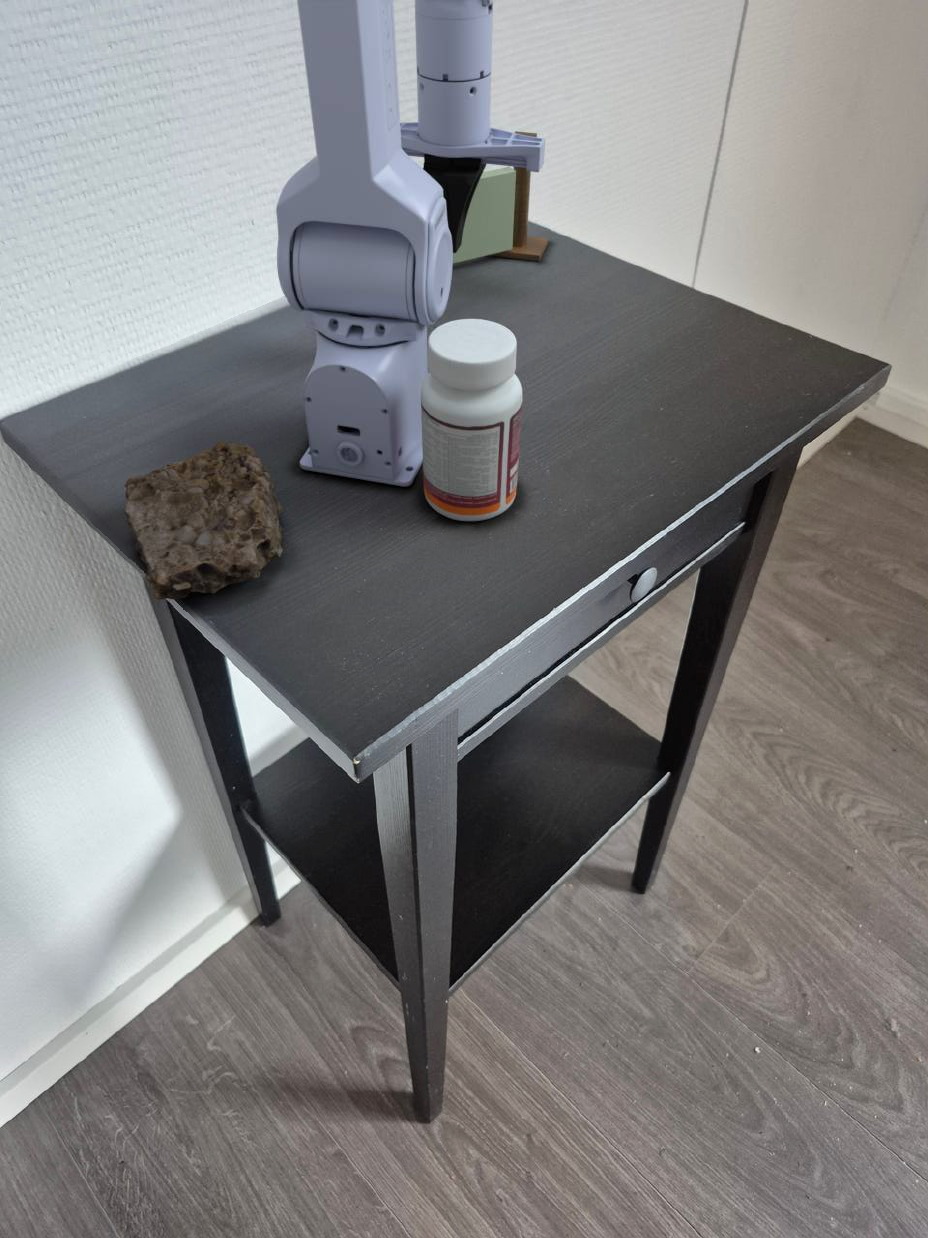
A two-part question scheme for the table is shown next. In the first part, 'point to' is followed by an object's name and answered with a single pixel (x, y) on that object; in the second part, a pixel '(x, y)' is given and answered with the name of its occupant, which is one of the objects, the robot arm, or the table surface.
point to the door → (489, 216)
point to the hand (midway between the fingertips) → (454, 248)
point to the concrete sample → (205, 521)
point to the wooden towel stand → (523, 220)
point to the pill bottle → (471, 420)
